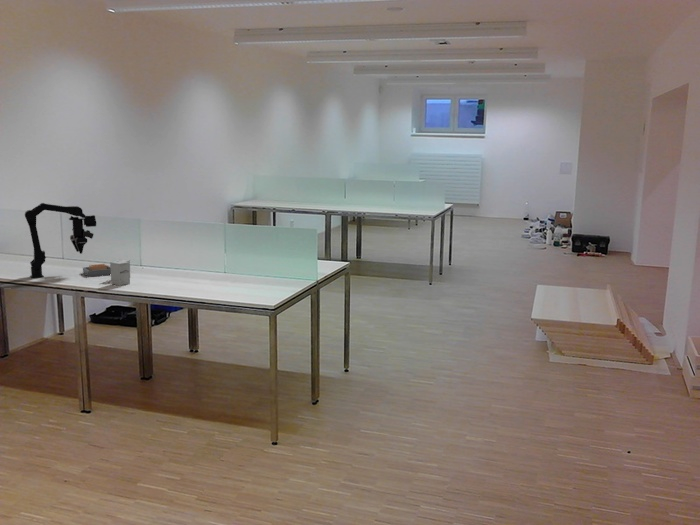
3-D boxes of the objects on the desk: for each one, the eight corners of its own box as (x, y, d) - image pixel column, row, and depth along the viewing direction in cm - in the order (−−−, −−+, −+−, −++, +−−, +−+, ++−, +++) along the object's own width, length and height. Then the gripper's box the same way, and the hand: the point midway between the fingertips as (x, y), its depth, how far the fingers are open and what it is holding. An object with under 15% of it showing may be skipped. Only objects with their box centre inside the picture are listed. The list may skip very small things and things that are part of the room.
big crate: (83, 273, 386) (82, 267, 385) (107, 270, 394) (107, 265, 394) (88, 276, 374) (88, 271, 373) (113, 274, 382) (113, 268, 382)
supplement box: (119, 286, 349) (118, 263, 347) (111, 284, 353) (109, 262, 351) (130, 283, 355) (129, 261, 353) (121, 282, 359) (120, 260, 357)
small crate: (89, 272, 384) (89, 265, 383) (104, 271, 389) (104, 263, 388) (91, 273, 379) (91, 266, 378) (107, 272, 384) (106, 265, 383)
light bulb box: (121, 281, 363) (120, 262, 361) (110, 280, 364) (109, 262, 362) (131, 277, 373) (130, 259, 371) (120, 277, 374) (119, 259, 373)
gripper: (95, 227, 376) (97, 253, 379) (88, 225, 391) (89, 249, 394) (75, 228, 370) (77, 255, 372) (69, 225, 385) (70, 251, 388)
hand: (79, 252), depth 382 cm, fingers open, 9 cm apart
